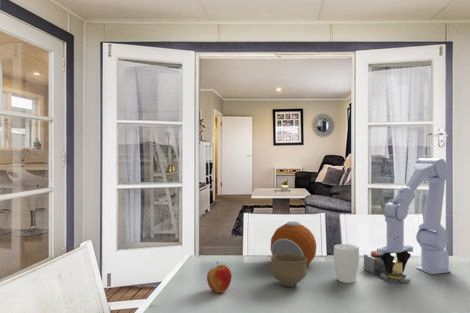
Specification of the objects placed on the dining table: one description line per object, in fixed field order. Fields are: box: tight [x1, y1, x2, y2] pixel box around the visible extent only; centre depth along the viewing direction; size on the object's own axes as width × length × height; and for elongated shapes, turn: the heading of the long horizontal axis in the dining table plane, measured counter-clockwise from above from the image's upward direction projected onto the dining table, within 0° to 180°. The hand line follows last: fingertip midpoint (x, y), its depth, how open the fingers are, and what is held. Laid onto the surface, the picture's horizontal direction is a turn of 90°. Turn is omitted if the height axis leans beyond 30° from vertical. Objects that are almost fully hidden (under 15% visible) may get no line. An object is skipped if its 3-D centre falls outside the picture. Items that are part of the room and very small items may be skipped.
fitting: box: [387, 258, 403, 279], centre depth 131 cm, size 5×5×6 cm
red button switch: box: [363, 250, 411, 285], centre depth 136 cm, size 10×20×7 cm, turn 17°
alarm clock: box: [270, 221, 317, 268], centre depth 149 cm, size 19×18×17 cm
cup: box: [333, 243, 360, 284], centre depth 130 cm, size 9×9×12 cm
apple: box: [206, 261, 232, 294], centre depth 119 cm, size 8×8×10 cm
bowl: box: [270, 254, 307, 287], centre depth 125 cm, size 13×13×10 cm
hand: (394, 272), depth 131 cm, fingers closed on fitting, 5 cm apart
